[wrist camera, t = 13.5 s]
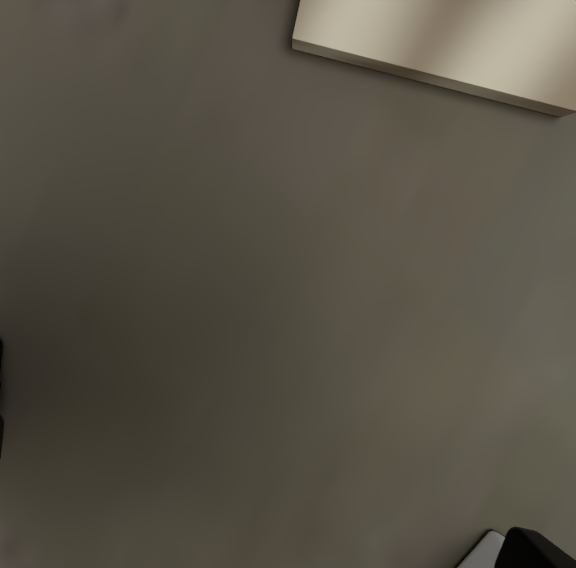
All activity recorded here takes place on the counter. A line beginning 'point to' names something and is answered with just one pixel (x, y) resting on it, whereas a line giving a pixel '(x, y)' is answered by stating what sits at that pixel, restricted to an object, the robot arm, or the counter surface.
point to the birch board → (454, 45)
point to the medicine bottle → (484, 552)
